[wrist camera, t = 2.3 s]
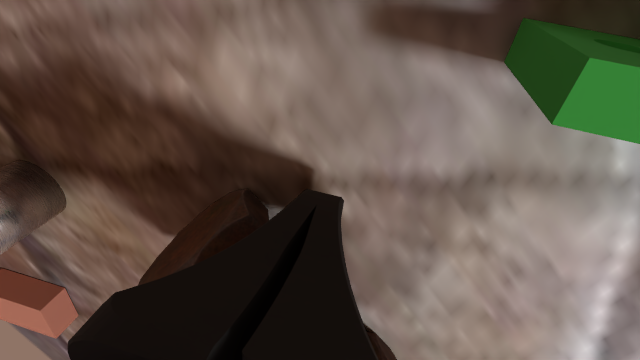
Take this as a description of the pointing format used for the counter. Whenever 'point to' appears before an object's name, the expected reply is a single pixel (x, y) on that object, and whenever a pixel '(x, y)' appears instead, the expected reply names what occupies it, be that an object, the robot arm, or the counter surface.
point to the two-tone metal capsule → (26, 201)
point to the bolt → (223, 242)
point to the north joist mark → (35, 304)
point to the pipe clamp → (580, 77)
